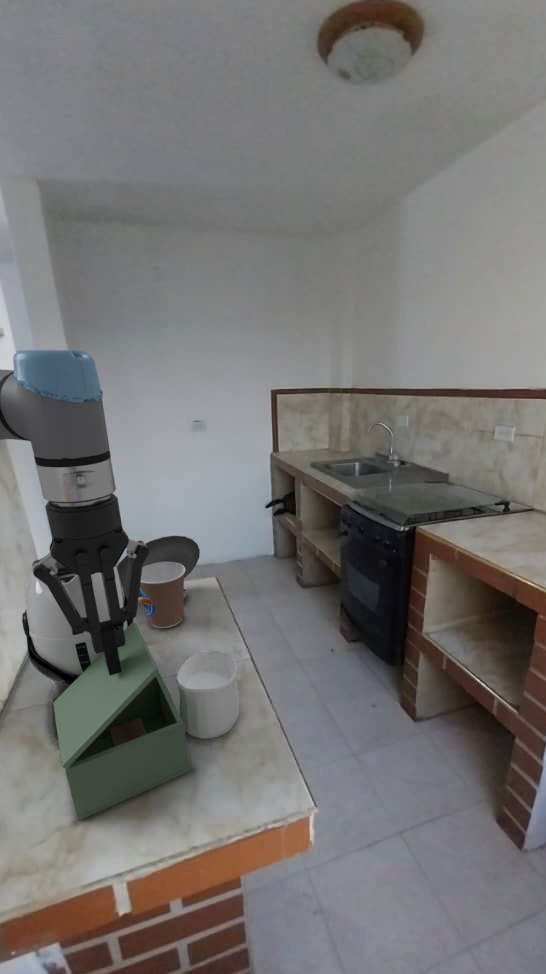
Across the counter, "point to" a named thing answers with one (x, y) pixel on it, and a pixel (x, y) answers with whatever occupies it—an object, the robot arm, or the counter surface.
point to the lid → (101, 695)
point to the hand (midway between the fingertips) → (113, 668)
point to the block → (127, 732)
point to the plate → (166, 554)
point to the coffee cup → (163, 593)
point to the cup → (208, 694)
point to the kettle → (62, 631)
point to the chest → (131, 754)
